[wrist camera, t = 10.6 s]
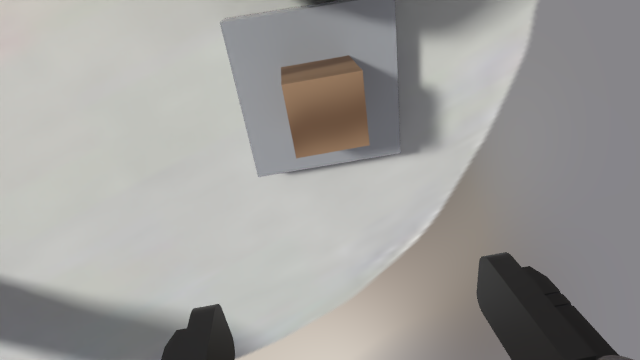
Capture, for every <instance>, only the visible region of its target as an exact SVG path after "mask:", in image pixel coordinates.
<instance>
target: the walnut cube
mask: <svg viewBox="0 0 640 360" xmlns="http://www.w3.org/2000/svg"><path fill="white" fill-rule="evenodd" d="M281 86H282V91H283V95H284V100H285V105H286V110H287V115H288V120H289V125H290V130H291V135H292V140H293V145H294V150H295V155H296V158H302V157H307V156H313V155H318V154H324V153H329V152H335V151H341V150H346V149H352V148H357V147H363V146H368V145H370V144H369V134H368V123H367V112H366V102H365V91H364V80H363V70H362V69H361V68H360V67H359V66H358V65H357V64H356V63H355V62H354V60H353V59H352V58H351V57H350V56H349V55H348V56H342V57H337V58H331V59H325V60H320V61H314V62H308V63H303V64H297V65H291V66H286V67H281Z"/></svg>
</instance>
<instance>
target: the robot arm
mask: <svg viewBox="0 0 640 360" xmlns="http://www.w3.org/2000/svg"><path fill="white" fill-rule="evenodd" d="M477 299H478V303H479V306H480V309H481V311H482V312H483V315H484V316H485V318H486V319H487V321H488V323H489V324H490V326H491V327H492V329H493V331H494V332H495V334H496V335H497V337H498V338H499V340H500V342H501V343H502V345H503V347H504V348H505V350H506V352H507V353H508V355H509V356H510V358H511V360H633V359H630V358H627V357H623V356H620V355H618V354H617V353H616V352H615V351H614V350H613V349H612V348H611V346H610V345H609V344H608V343H607V342H606V341H605V340H604V339H603V338H602V337H601V335H600V334H599V333H598V332H597V331H596V330H595V329H594V328H593V327H592V326H591V325H590V323H589V322H588V321H587V320H586V319H585V318H584V317H583V316H582V315H581V314H580V313H579V311H577V309H576V308H575V307H574V306H572V305H571V303H570V301H569V300H568V299H567V298H566V297H565V296H564V295H563V294H561V293H560V291H559V289H558V288H557V287H556V286H555V285H554V284H553V283H552V282H551V281H550V280H549V279H548V278H547V277H546V276H544V275H543V274H541V273H540V272H538V271H536V270H535V269H533V268H532V267H530V266H528V267H521V266H520V265H519V264H518V263H517V262H516V260H515V259H514V258H513V257H512V256H511V255H510V254H509V253H507V252H505V253H499V254H495V255H489V256H483V257H481V258H480V261H479V271H478V283H477ZM234 359H235V349H234V341H233V337H232V334H231V332H230V329H229V326H228V324H227V321H226V319H225V316H224V313H223V311H222V308H221V306H220V305H219V304H216V305H210V306H205V307H200V308H194V309H193V310H192V312H191V315H190V319H189V323H188V327H187V329H181V330H176V332H175V333H174V335H173V336H172V338H171V339H170V340H169V342H168V343H167V345H166V346H165V349H164V352H163V355H162V359H161V360H234Z"/></svg>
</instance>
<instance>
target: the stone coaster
mask: <svg viewBox="0 0 640 360" xmlns="http://www.w3.org/2000/svg"><path fill="white" fill-rule="evenodd" d="M220 25H221V29H222V33H223V37H224V41H225V45H226V49H227V53H228V57H229V61H230V65H231V69H232V73H233V77H234V81H235V85H236V89H237V93H238V97H239V101H240V105H241V109H242V113H243V117H244V121H245V125H246V129H247V133H248V137H249V141H250V146H251V150H252V154H253V158H254V162H255V166H256V170H257V174H258V177H261V176H267V175H273V174H279V173H285V172H291V171H297V170H303V169H309V168H315V167H320V166H326V165H332V164H338V163H344V162H350V161H356V160H362V159H368V158H374V157H380V156H386V155H392V154H398V153H400V126H399V98H398V70H397V42H396V14H395V0H338V1H332V2H326V3H319V4H313V5H307V6H301V7H294V8H288V9H282V10H276V11H269V12H263V13H257V14H250V15H244V16H238V17H232V18H225V19H223V20H222V21H221V22H220ZM348 55H349V56H350V57H351V58H352V59H353V60H354V62H355V63H356V64H357V65H358V66H359V67H360V68H361V69H362V70H363V80H364V91H365V102H366V112H367V123H368V134H369V144H370V145H368V146H363V147H357V148H352V149H346V150H341V151H335V152H329V153H324V154H318V155H313V156H307V157H302V158H296V155H295V150H294V145H293V140H292V135H291V130H290V125H289V120H288V115H287V110H286V105H285V100H284V95H283V91H282V86H281V67H286V66H291V65H297V64H303V63H308V62H314V61H320V60H325V59H331V58H337V57H342V56H348Z"/></svg>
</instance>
